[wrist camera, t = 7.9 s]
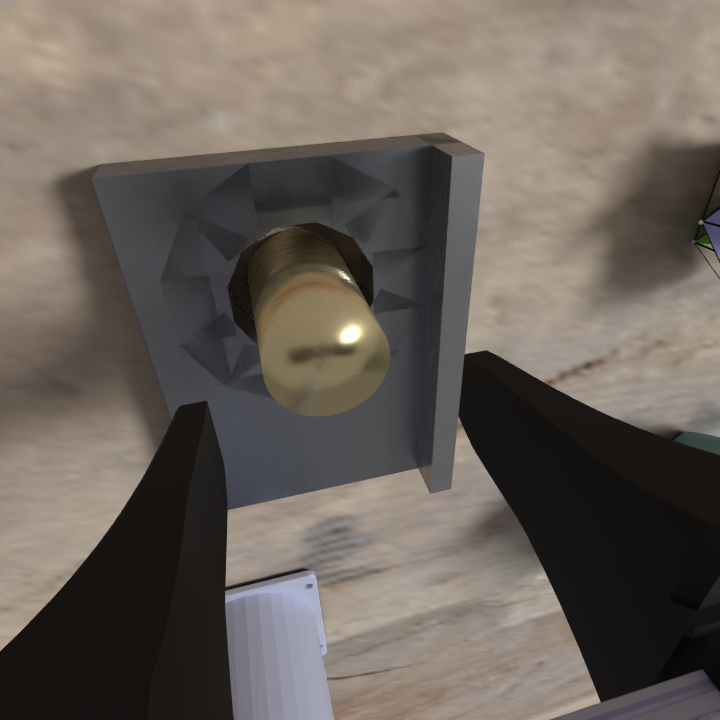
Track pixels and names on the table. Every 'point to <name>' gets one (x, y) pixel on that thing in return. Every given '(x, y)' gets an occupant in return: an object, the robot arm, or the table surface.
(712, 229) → the geometric puzzle
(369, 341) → the brass cylinder plug
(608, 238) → the table surface
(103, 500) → the table surface
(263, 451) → the jig
